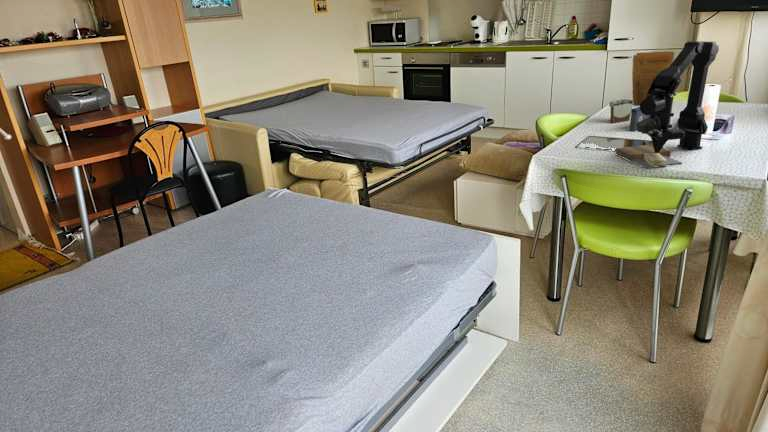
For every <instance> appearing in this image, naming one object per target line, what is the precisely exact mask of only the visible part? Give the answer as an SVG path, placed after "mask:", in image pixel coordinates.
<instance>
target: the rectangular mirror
mask: <svg viewBox="0 0 768 432" xmlns="http://www.w3.org/2000/svg"><path fill="white" fill-rule="evenodd" d="M581 143H583V144H586V143H587V144H588V143H589V144H590V143H591V144H592V143H593V144H594V145H595V144H596V146H597V145H598V146H599V147H602V148H603V147H604V148H607V149H604V150H612V149H611V148H614V149H615V148H625V147H633V146H642V145H650V144H653V143H652V139H651V140H649V139H640V138H639V139H637V138H635V139H634V138H625V137H624V138H623V137H612V136H611V137H610V136H598V135H597V136H596V135H588V136H587V137H585V138H584V139H583V140H581V142H579V143H578V144H577V145H576V146H575V148H576V147H577V146H578V147H579V145H580V144H581ZM609 147H610V149H608V148H609ZM585 148H590V147H585ZM596 149H601V148H596ZM604 150H603V151H604ZM615 151H616V149H615ZM615 151H614V152H615Z"/></svg>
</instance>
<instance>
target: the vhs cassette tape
mask: <svg viewBox="0 0 768 432" xmlns="http://www.w3.org/2000/svg"><path fill="white" fill-rule="evenodd" d="M646 118H649V115H645V114H643V113H642V112H641V111H640V106H638V107H634V108H632V110H631V115H630V120H629V122H630V123H629V131H630V132H638V131H637V127H636V123H637V122H639V121H641V120H643V119H646Z"/></svg>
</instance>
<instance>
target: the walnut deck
mask: <svg viewBox="0 0 768 432" xmlns="http://www.w3.org/2000/svg"><path fill="white" fill-rule="evenodd" d="M647 153H655V151H654V147H653V144H650V145H642V146H633V147H625V148H616V152H615V154H617V155H619V156H621V157H624V158H626V159H628V160H630V161H631V160H636V159H644V154H647ZM671 153H672V150H671V149H668V148H666V147H664V146H663V147H662V149H661V150H660V152H659V154H660V155H661V156H667V157H669V158H671ZM617 155H616V156H617ZM619 156H618V157H619ZM621 157H620V158H621ZM624 158H623V159H624ZM626 159H625V160H626ZM628 160H627V161H628ZM630 161H629V162H630Z"/></svg>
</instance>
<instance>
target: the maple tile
mask: <svg viewBox="0 0 768 432" xmlns="http://www.w3.org/2000/svg"><path fill="white" fill-rule="evenodd" d="M644 160H645V161H646V162H648V163H649V164H650V165H651V166H662V167H667V166H666V165H667V160H666V159H665V158H664V157H663V156H661V155H660V154H659V153H647V154H644Z"/></svg>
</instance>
